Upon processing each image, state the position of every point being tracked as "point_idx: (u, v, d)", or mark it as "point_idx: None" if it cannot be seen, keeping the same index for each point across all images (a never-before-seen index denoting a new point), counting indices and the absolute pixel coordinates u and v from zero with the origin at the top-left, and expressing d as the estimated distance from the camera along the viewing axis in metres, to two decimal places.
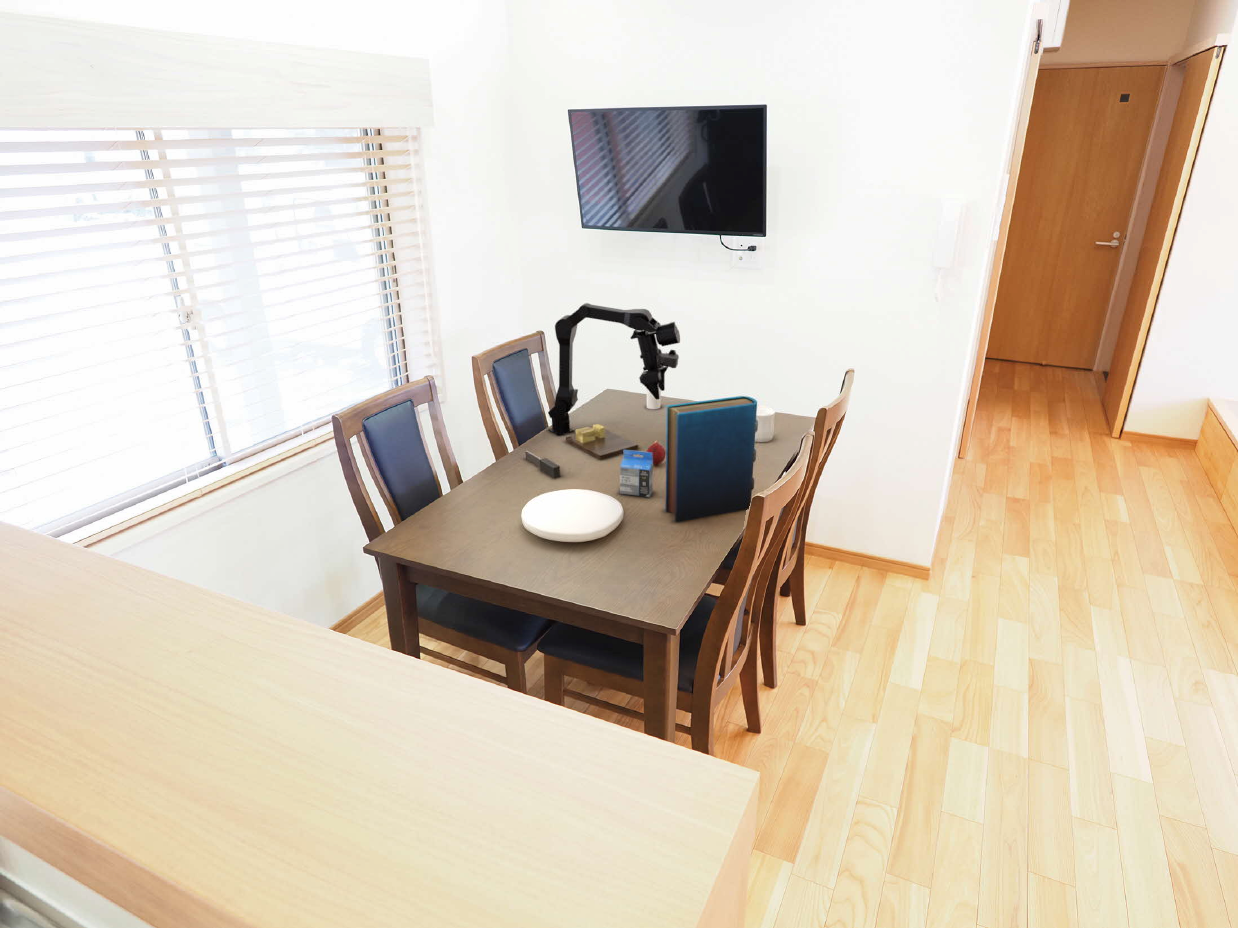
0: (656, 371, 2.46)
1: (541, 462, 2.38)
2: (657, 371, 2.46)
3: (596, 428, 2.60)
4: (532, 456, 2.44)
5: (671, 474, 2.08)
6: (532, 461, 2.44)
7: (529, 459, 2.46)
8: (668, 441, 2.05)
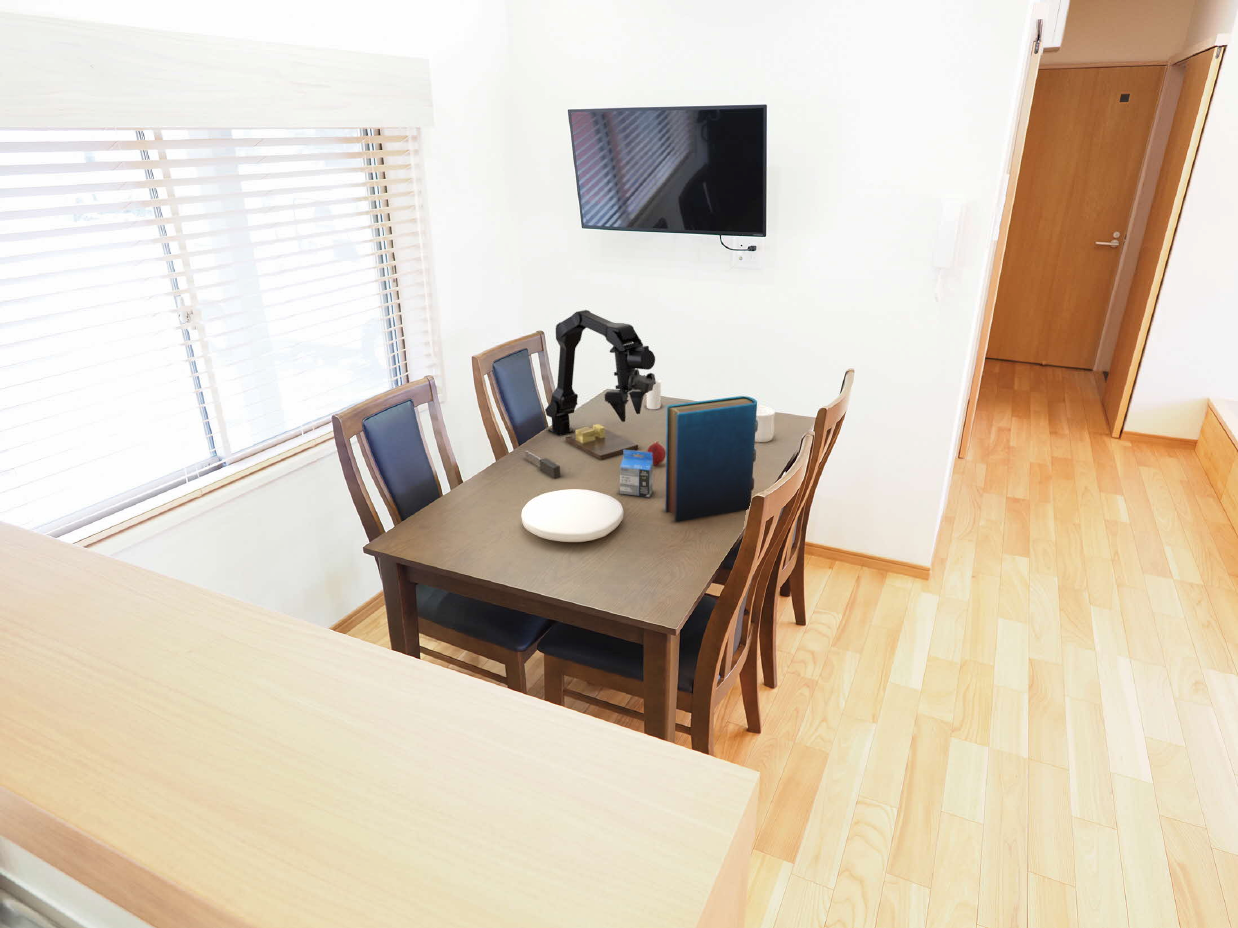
0: (622, 392, 2.30)
1: (541, 462, 2.38)
2: (623, 392, 2.31)
3: (596, 428, 2.60)
4: (532, 456, 2.44)
5: (671, 474, 2.08)
6: (532, 461, 2.44)
7: (529, 459, 2.46)
8: (668, 441, 2.05)
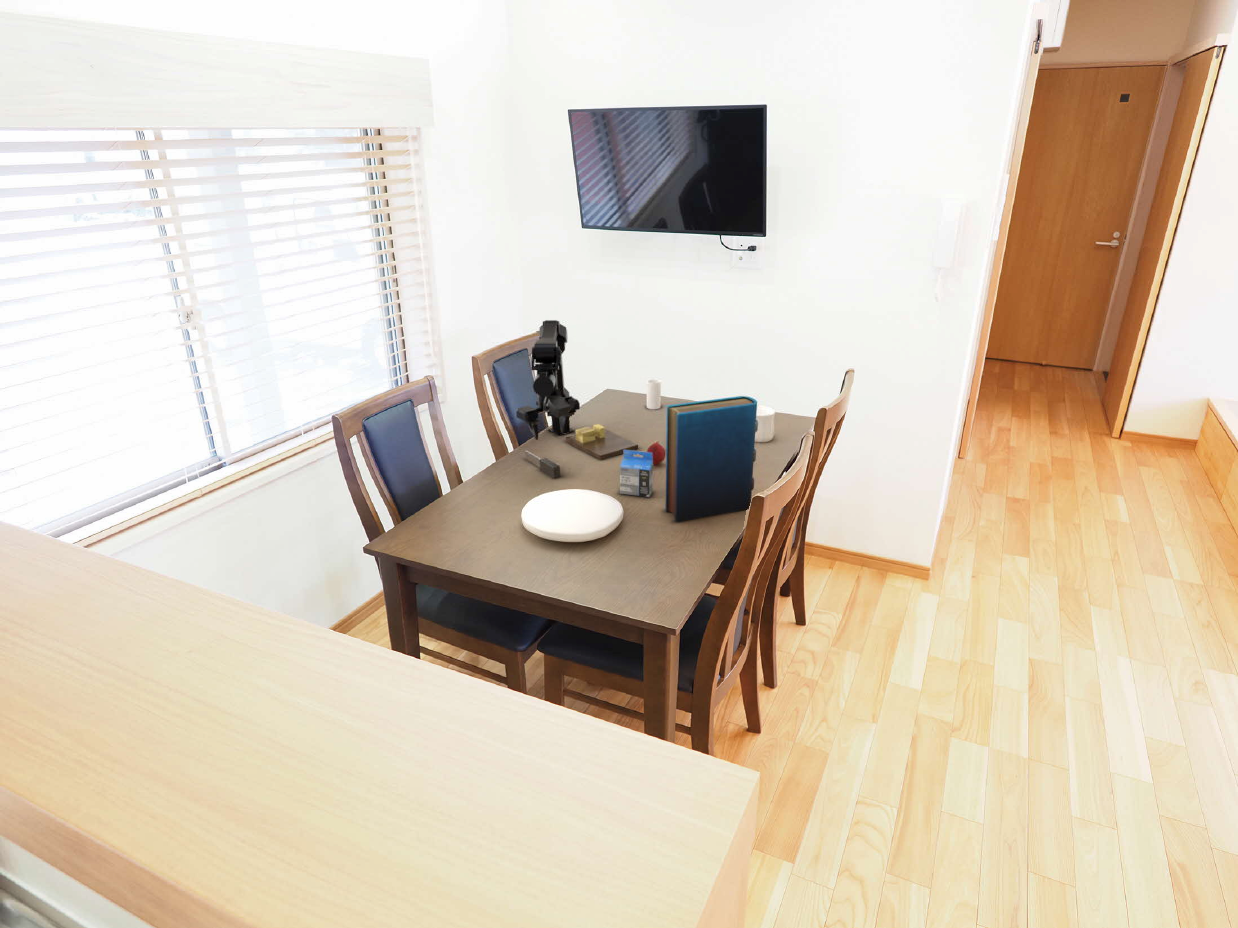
0: (530, 412, 2.23)
1: (541, 462, 2.38)
2: (532, 412, 2.23)
3: (596, 428, 2.60)
4: (532, 456, 2.44)
5: (671, 474, 2.08)
6: (532, 461, 2.44)
7: (529, 459, 2.46)
8: (668, 441, 2.05)
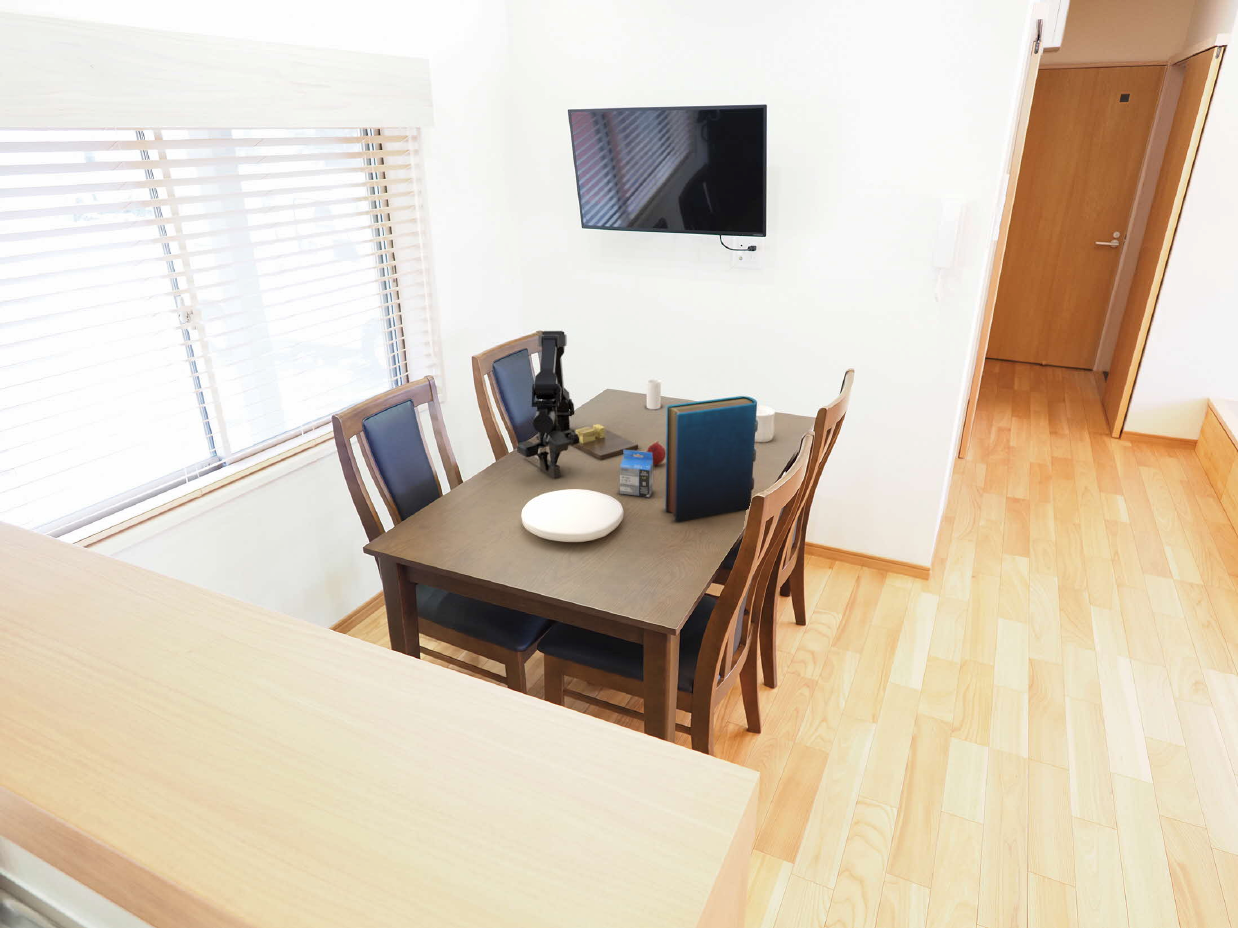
0: (530, 447, 2.27)
1: None
2: (532, 448, 2.27)
3: (596, 428, 2.60)
4: (532, 456, 2.44)
5: (671, 474, 2.08)
6: (532, 461, 2.44)
7: (529, 459, 2.46)
8: (668, 441, 2.05)
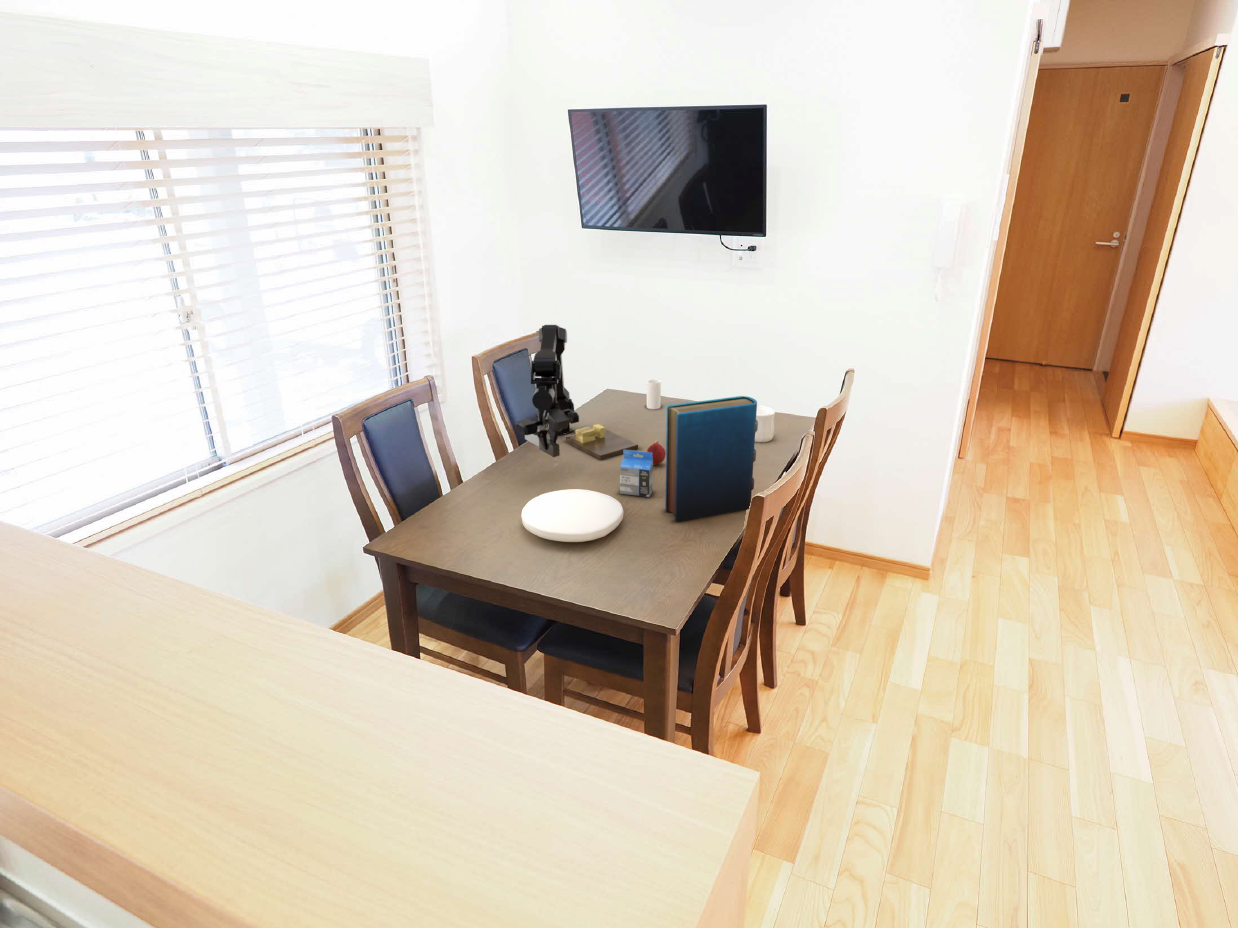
0: (530, 425, 2.24)
1: None
2: (531, 426, 2.25)
3: (596, 428, 2.60)
4: (531, 436, 2.41)
5: (671, 474, 2.08)
6: (531, 441, 2.42)
7: (528, 439, 2.43)
8: (668, 441, 2.05)
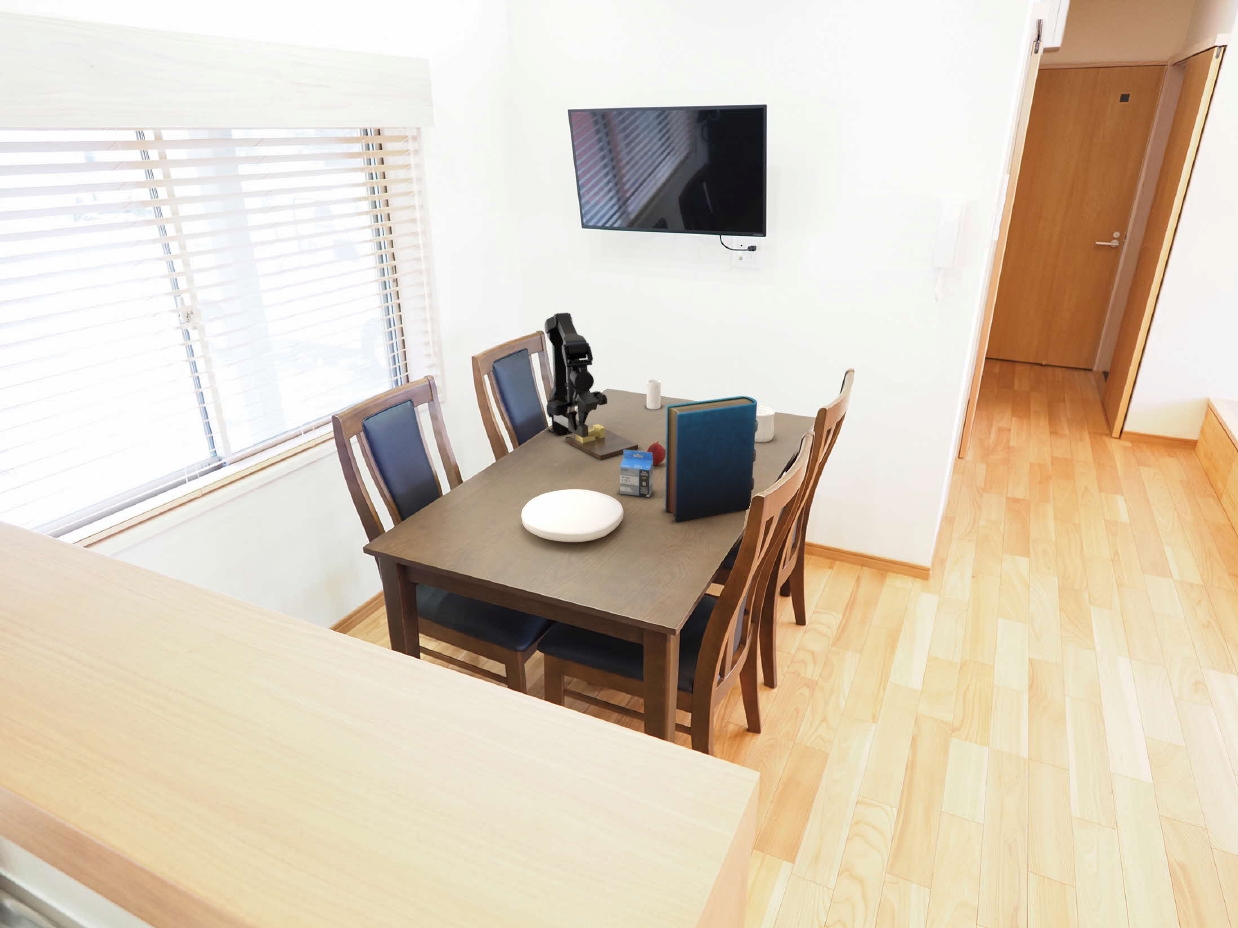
0: (560, 406, 2.31)
1: (569, 422, 2.42)
2: (562, 407, 2.32)
3: (596, 428, 2.60)
4: (560, 417, 2.48)
5: (671, 474, 2.08)
6: (560, 422, 2.49)
7: (557, 420, 2.50)
8: (668, 441, 2.05)
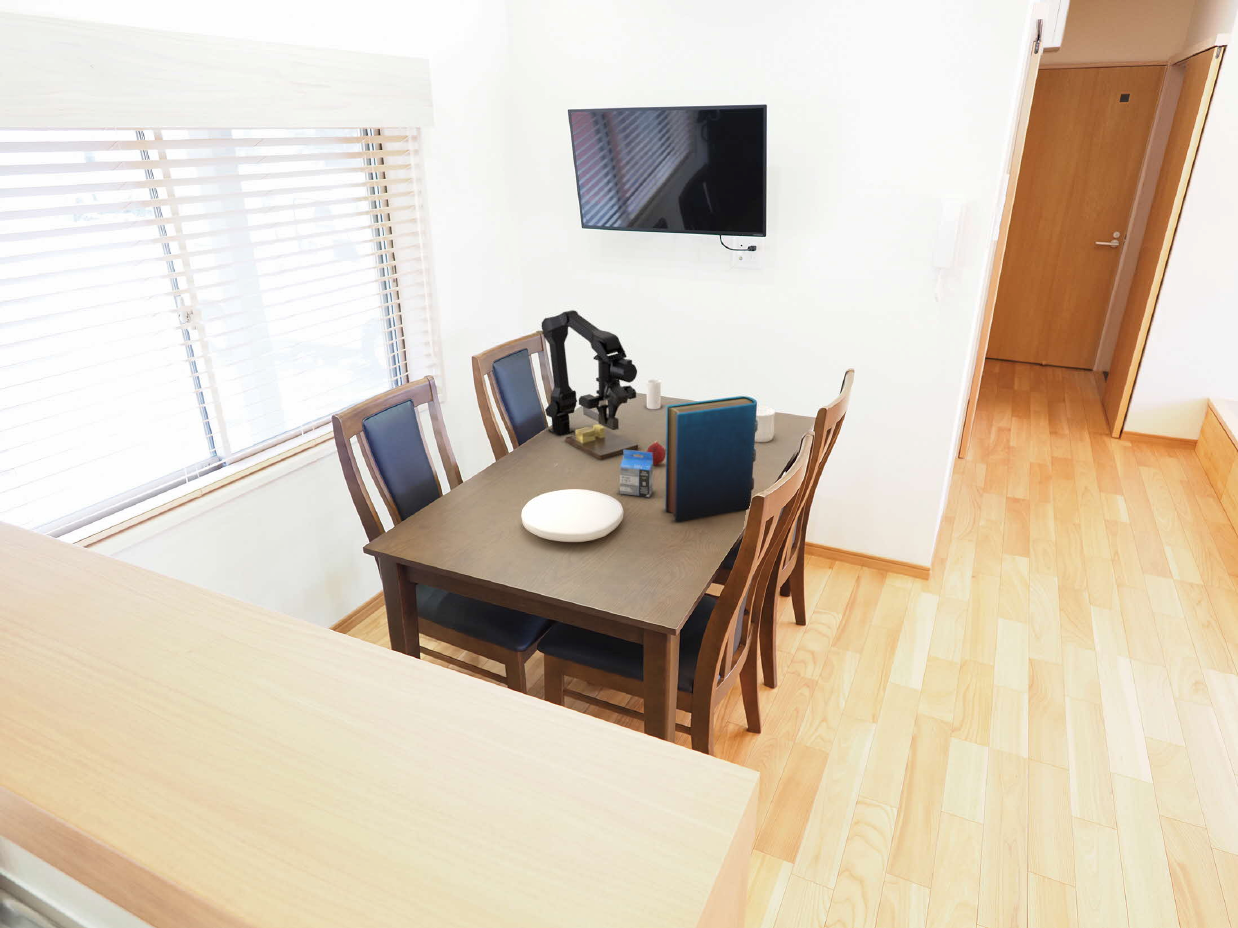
0: (592, 400, 2.40)
1: None
2: (594, 400, 2.41)
3: (596, 428, 2.60)
4: (590, 411, 2.57)
5: (671, 474, 2.08)
6: (590, 416, 2.58)
7: (587, 414, 2.59)
8: (668, 441, 2.05)
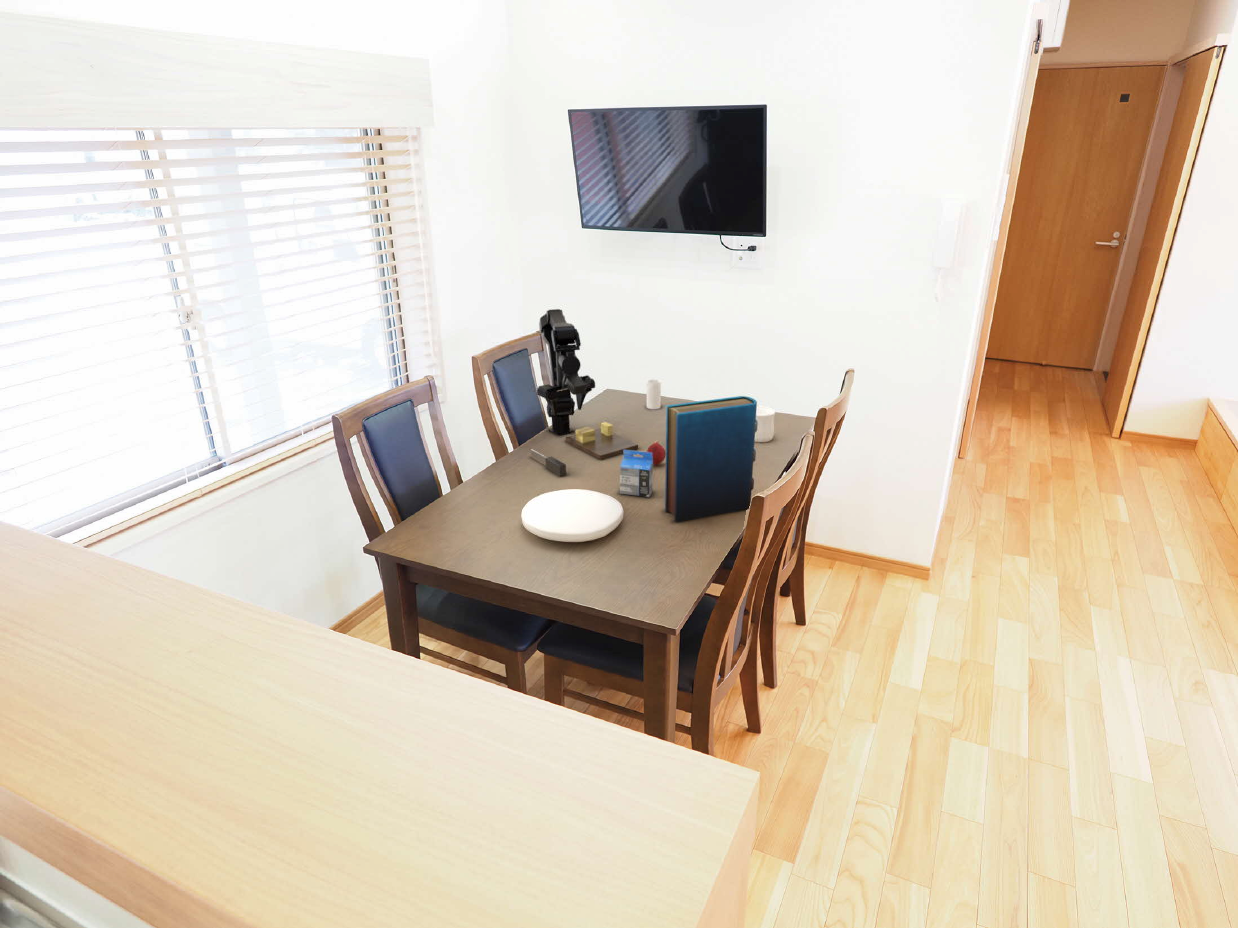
0: (550, 389, 2.42)
1: (547, 460, 2.39)
2: (552, 390, 2.42)
3: (604, 426, 2.62)
4: (538, 455, 2.45)
5: (671, 474, 2.08)
6: (538, 459, 2.45)
7: (535, 458, 2.47)
8: (668, 441, 2.05)
